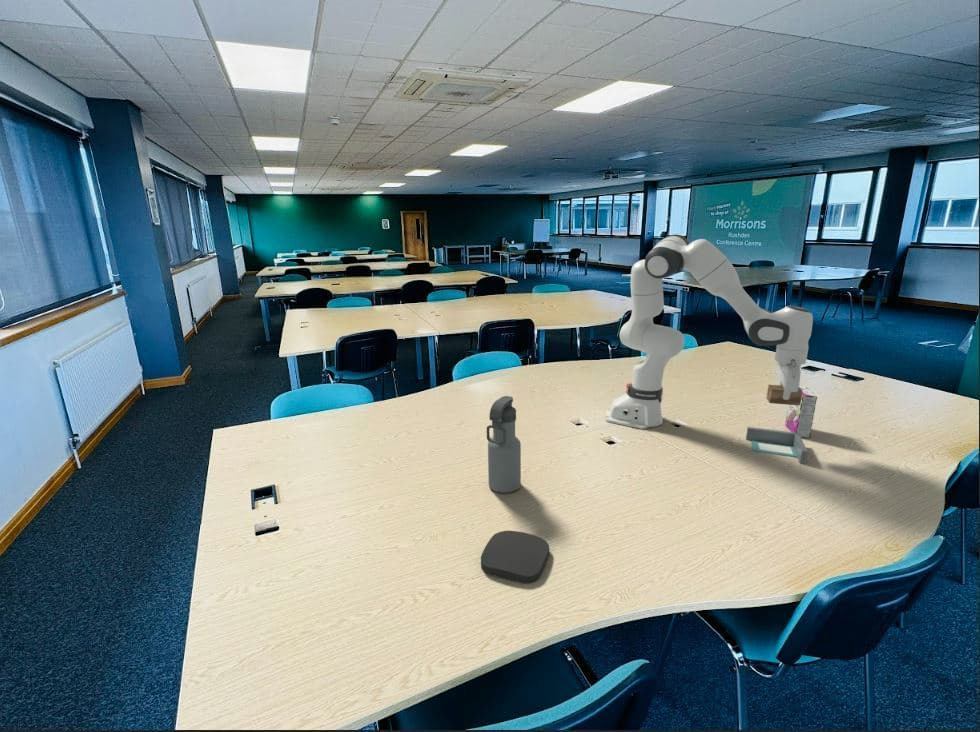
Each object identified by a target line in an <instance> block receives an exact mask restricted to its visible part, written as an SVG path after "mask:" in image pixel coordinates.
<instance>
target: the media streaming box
mask: <svg viewBox="0 0 980 732" xmlns="http://www.w3.org/2000/svg"><path fill="white" fill-rule="evenodd" d="M549 556H550V544H549V543H548V542H547V541H546V540H545V538H543V537H541V536H538V535H534V534H531V533H528V532H524V531H518V530H517V531H516V530H503V531H502V530H501V531H498V532H496V533H494V534H493V535H492V536H491V538H489V540H488V542H487V543H486V545H485V547H484V548H483V551H482V553H481V556H480V567H481V569H482V571H483V572H484V573H485V574H487V575H490V576H492V577H497V578H499V579H504V580H508V581H511V582H516V583H521V584H532V583H535V582H537V581H538V580H539V579H540V578H541V576H542V574H543V571H544V569H545V568H546V564H547V563H548V559H549Z"/></svg>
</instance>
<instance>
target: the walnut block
mask: <svg viewBox="0 0 980 732" xmlns="http://www.w3.org/2000/svg"><path fill="white" fill-rule="evenodd" d="M767 385H768V386H767V391H766V400H767V401H768V403H769V404H774V405H775V404H777V405H787V406H788V405H800V404H801V398H802V393H803V391H802V390H801V389H800V388H799V389H798V391H797V392H791V394H790V398H789V400H784V399H783V397H782V396H783V393H784V388H783V386H782V385H780V384H767Z"/></svg>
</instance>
